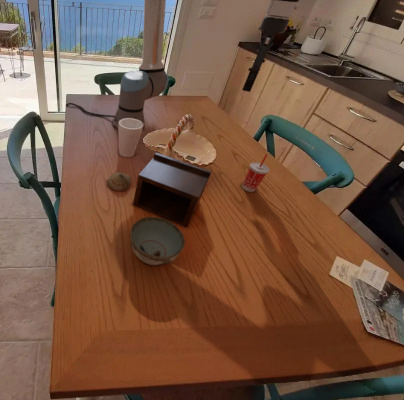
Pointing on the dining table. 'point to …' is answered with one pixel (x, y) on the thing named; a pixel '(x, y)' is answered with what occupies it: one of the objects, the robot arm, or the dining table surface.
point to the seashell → (119, 181)
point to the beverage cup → (255, 175)
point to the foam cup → (129, 136)
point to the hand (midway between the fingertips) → (248, 85)
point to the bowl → (156, 240)
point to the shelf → (170, 188)
